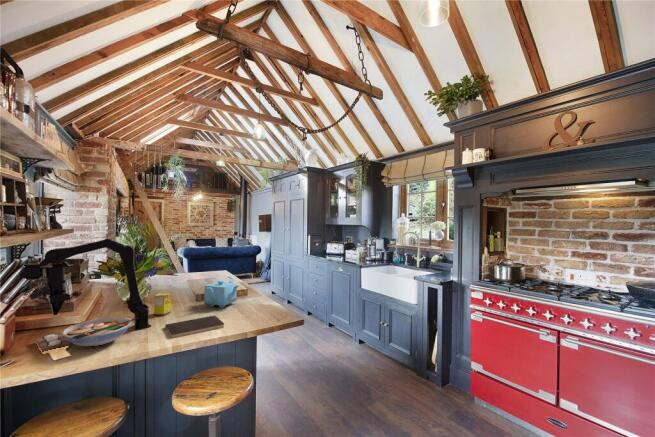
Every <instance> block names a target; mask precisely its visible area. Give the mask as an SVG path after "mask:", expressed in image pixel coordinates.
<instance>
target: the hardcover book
mask: <svg viewBox="0 0 655 437" xmlns="http://www.w3.org/2000/svg"><path fill="white" fill-rule="evenodd" d="M224 325H225V323H224V322H223V321H222V320H221V319H220V318H219V317H218V316H216V315H210V316H205V317H199V318H193V319H189V320H188V319H187V320H182V321H178V322H177V321H176V322H171V323H166V324H165V325H164V329H166V330H167V332H168V334H169V335H170V338H172V339H175V338H178V337H183V336H188V335H191V334H198V333H202V332H208V331H211V330H217V329H220V328H224V327H225V326H224Z"/></svg>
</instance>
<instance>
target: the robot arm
mask: <svg viewBox="0 0 655 437" xmlns="http://www.w3.org/2000/svg"><path fill="white" fill-rule="evenodd" d="M105 248H107V249H108V250H111V251H113V252H114V253H117V254H118V255H119V257H120V260H121V261H122V263H123V266H124V270H125V274H126V281H127V286H128V292H129V297H126V304H127V310H129V312H130V313H131V314H134V319H135V318H138V319H135V320H133V321H134V324H133V325H131V328H132V329H133V330H135V331H138V330H142V329H146V328H150V327H152V325H151V324H150V323H149V318H150V317H149V316H150V315H149V312H150V310H149V309H150V308H149V306H148V305H147V304H146V303H144V299H143V297H142V294H141V293H140V290H139V285H138V284H139V283H138V279H137V274H136V267H135V248H134V247H133V246H132V245H130V244H122V243H120V242H119V241H118V242H117V241H115V240H113V239H112V238H105V239H102V240H97V241H92V242H89V243H84V244H81V245H76V246H69V247H66V246H65V247H57V248H53V249H49V250H48V251H46V253H44V258H43V260H40V262H39V263H23V264H22V265H21V267H22V266H23V265H24V266H25V269H24V270H23V272H22V273H21V274H20V273H19V280H20V279H22V278H26V279H28V280H27V281H38V280H39V281H40V280H42V278H44V277H45V281H44V282H43V285H40V286H37V287H35V290H34V291H33V293H32V294H31V295H30V297H29V296H28V298H29V299H30V300H31V301H33V300H35V299H37V298H39V297H42V298H44V297H45V296H46V298H44V300H45V301H46V302H47V303H49V305H50V309H51V312H52V315H53V316H58V314H59V312H60V311H61V309H62V307H63V304H65V302H66V301H70V300H71V295H70V294H69V293H67V292H66V289H65V283H66V279H65V268H69V267H70V266H71V264H70V263H68V262H67V261H65V260H67V259H69V258H71V257H73V256H77V255H78V256H79V255H82V254H85V253H88V252H93V251H96V250H97V251H98V250H101V249H105ZM62 261H63V262H62ZM61 262H62V263H61ZM50 264H52V265H51V266H50ZM31 290H32V289H30V290H28V291H26V294H27V293H28V292H30V291H31Z"/></svg>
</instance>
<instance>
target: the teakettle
mask: <svg viewBox="0 0 655 437" xmlns="http://www.w3.org/2000/svg"><path fill="white" fill-rule="evenodd" d="M240 286H241V285H240V284H237V283H236V282H234V279H231V280H229V281H228V282H227V281H226V282H225V281H224V280H217V281H216V282H213V283H209V284H206V285H204V302H203V304H205V305H208V306H209V307H210V308H213V307H215V306H219V307H218V308H219V309H224V308H225V306H230V305H232V303H234V302H236V301H237V289H238V288H239V287H240Z"/></svg>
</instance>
